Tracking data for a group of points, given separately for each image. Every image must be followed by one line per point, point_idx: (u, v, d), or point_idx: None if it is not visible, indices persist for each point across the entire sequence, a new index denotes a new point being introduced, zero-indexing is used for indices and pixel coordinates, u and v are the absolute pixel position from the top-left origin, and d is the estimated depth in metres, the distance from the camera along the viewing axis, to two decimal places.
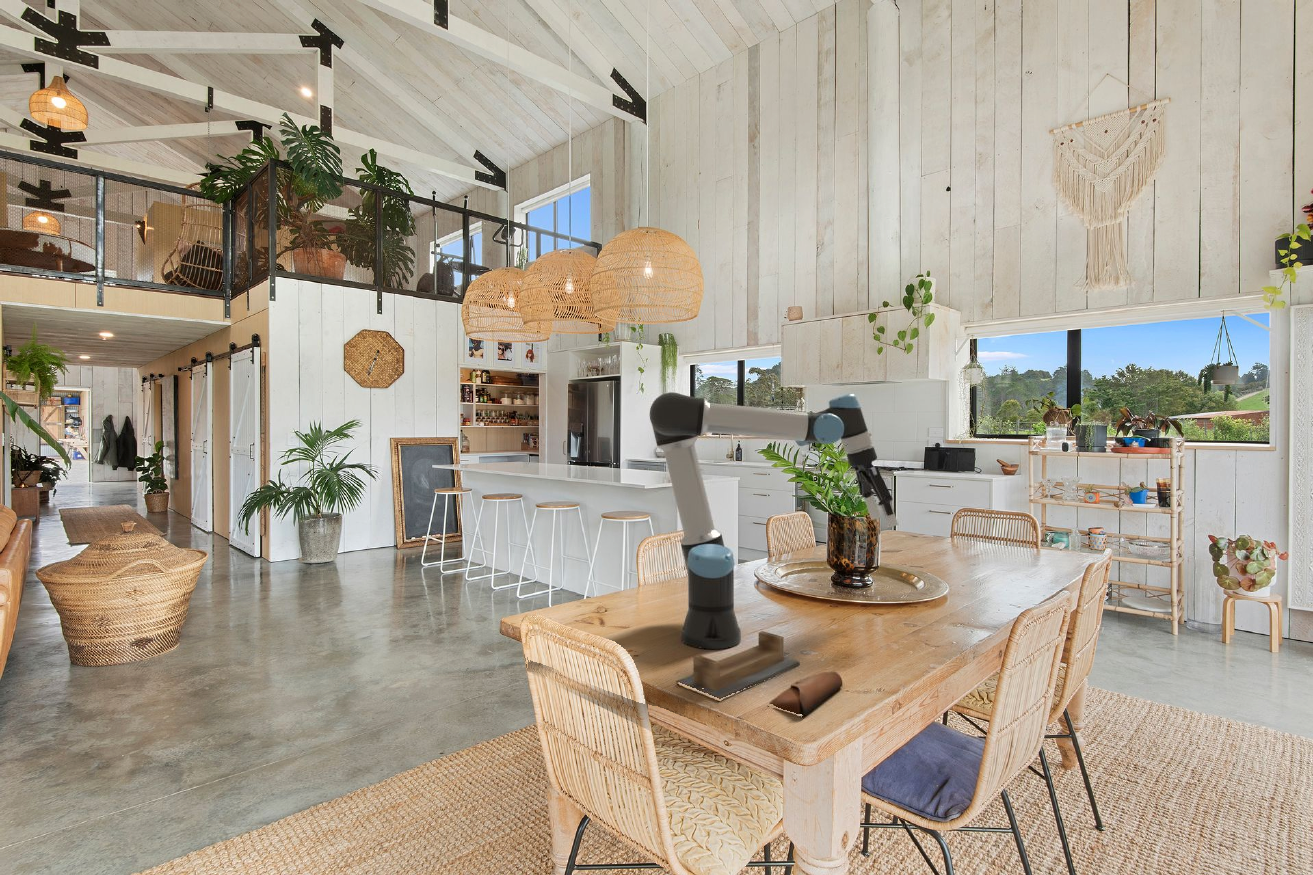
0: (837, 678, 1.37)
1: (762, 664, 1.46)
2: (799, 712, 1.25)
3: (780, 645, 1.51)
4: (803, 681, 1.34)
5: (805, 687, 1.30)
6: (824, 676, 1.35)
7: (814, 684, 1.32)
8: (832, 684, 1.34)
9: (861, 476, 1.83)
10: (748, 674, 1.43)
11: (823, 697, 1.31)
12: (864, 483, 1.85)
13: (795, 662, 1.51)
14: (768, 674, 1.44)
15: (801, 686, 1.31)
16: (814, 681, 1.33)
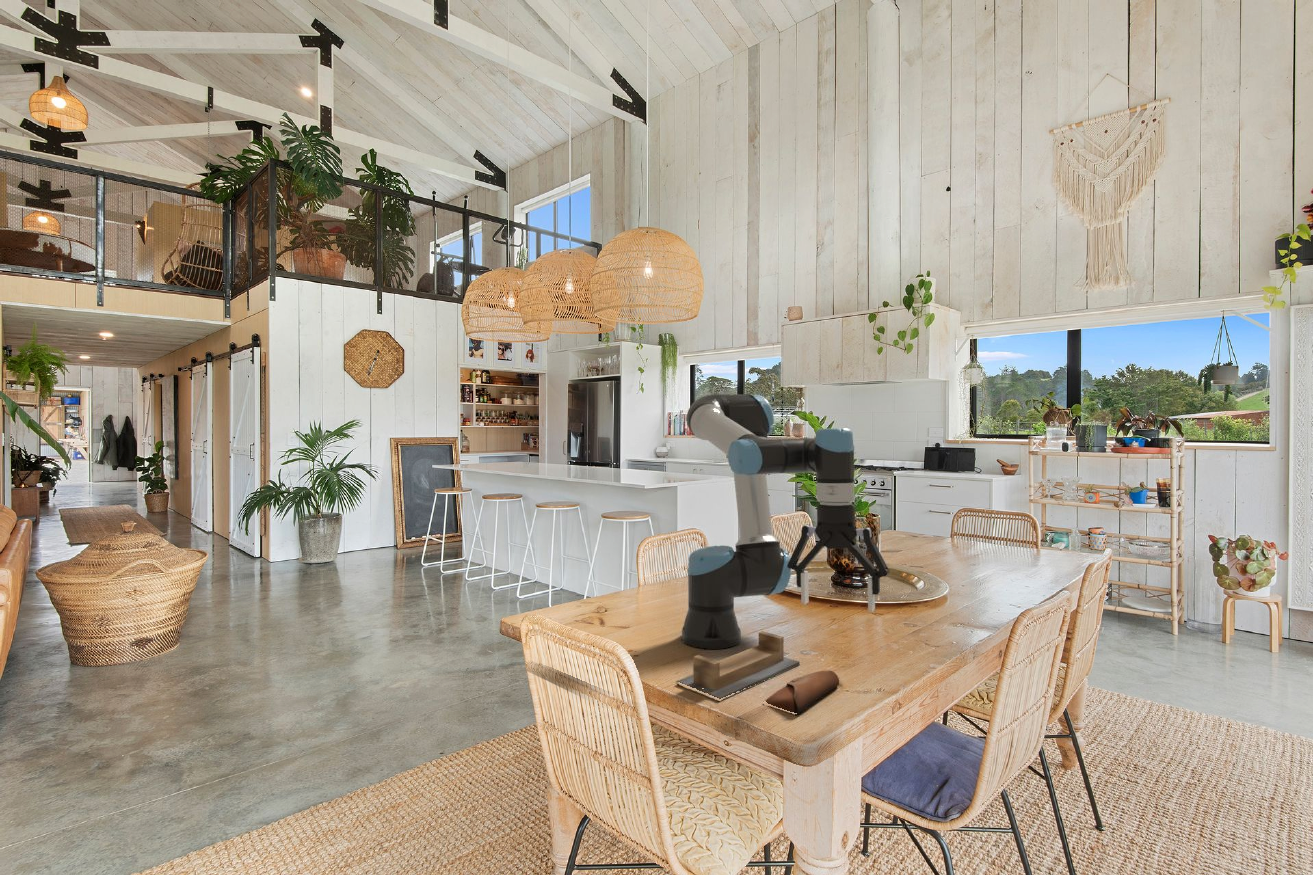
0: (833, 677, 1.37)
1: (762, 664, 1.46)
2: (793, 710, 1.26)
3: (780, 645, 1.51)
4: (799, 679, 1.35)
5: (800, 685, 1.31)
6: (820, 675, 1.36)
7: (810, 682, 1.32)
8: (828, 683, 1.35)
9: None
10: (748, 674, 1.43)
11: (818, 696, 1.31)
12: None
13: (795, 662, 1.51)
14: (768, 674, 1.44)
15: (796, 684, 1.31)
16: (810, 680, 1.33)
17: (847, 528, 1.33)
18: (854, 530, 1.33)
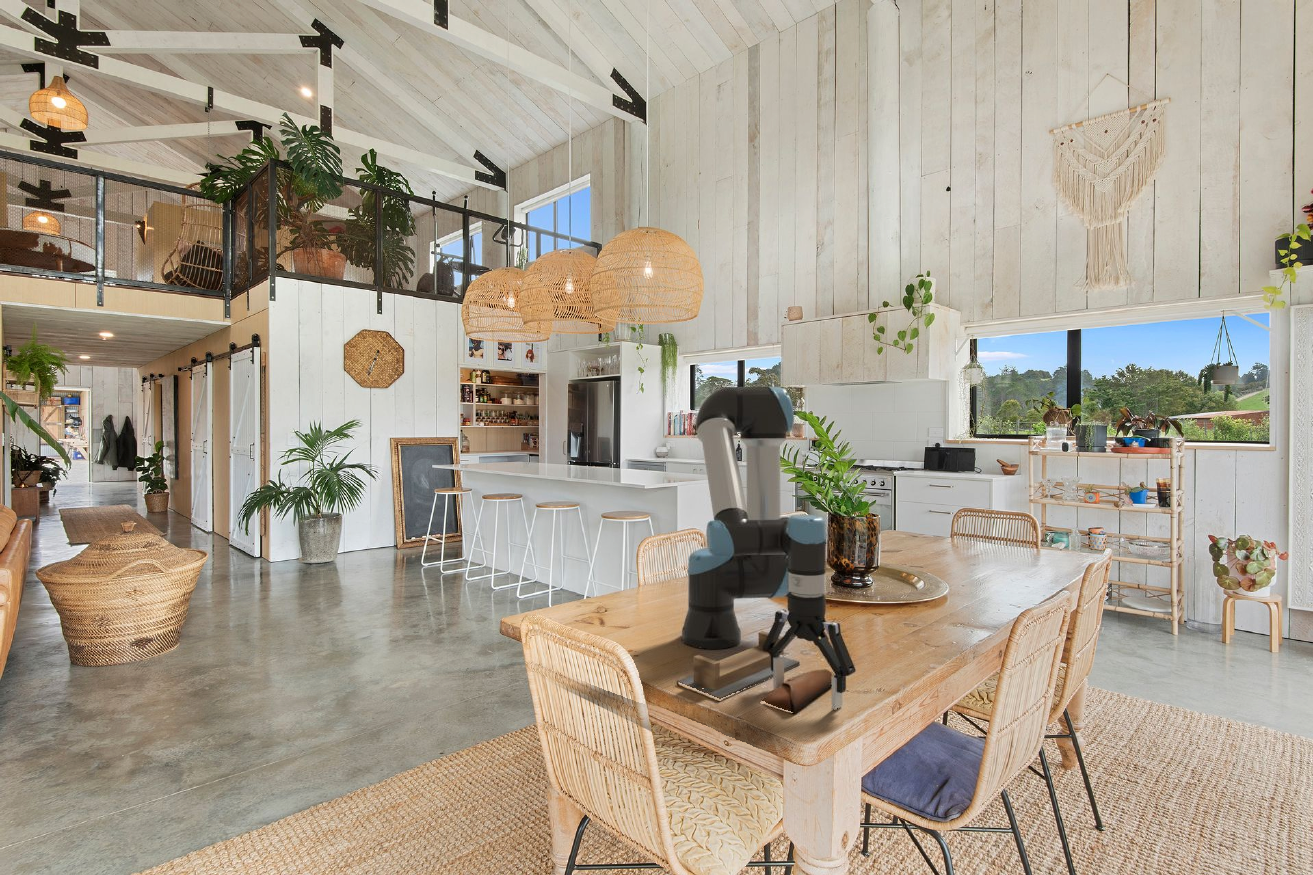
0: (829, 676, 1.38)
1: (762, 664, 1.46)
2: (790, 709, 1.27)
3: None
4: (795, 679, 1.36)
5: (796, 684, 1.32)
6: (816, 674, 1.37)
7: (806, 681, 1.33)
8: (823, 682, 1.35)
9: None
10: (748, 674, 1.43)
11: (814, 694, 1.32)
12: None
13: (795, 662, 1.51)
14: (768, 674, 1.44)
15: (792, 683, 1.32)
16: (806, 679, 1.34)
17: (814, 621, 1.30)
18: (821, 624, 1.30)
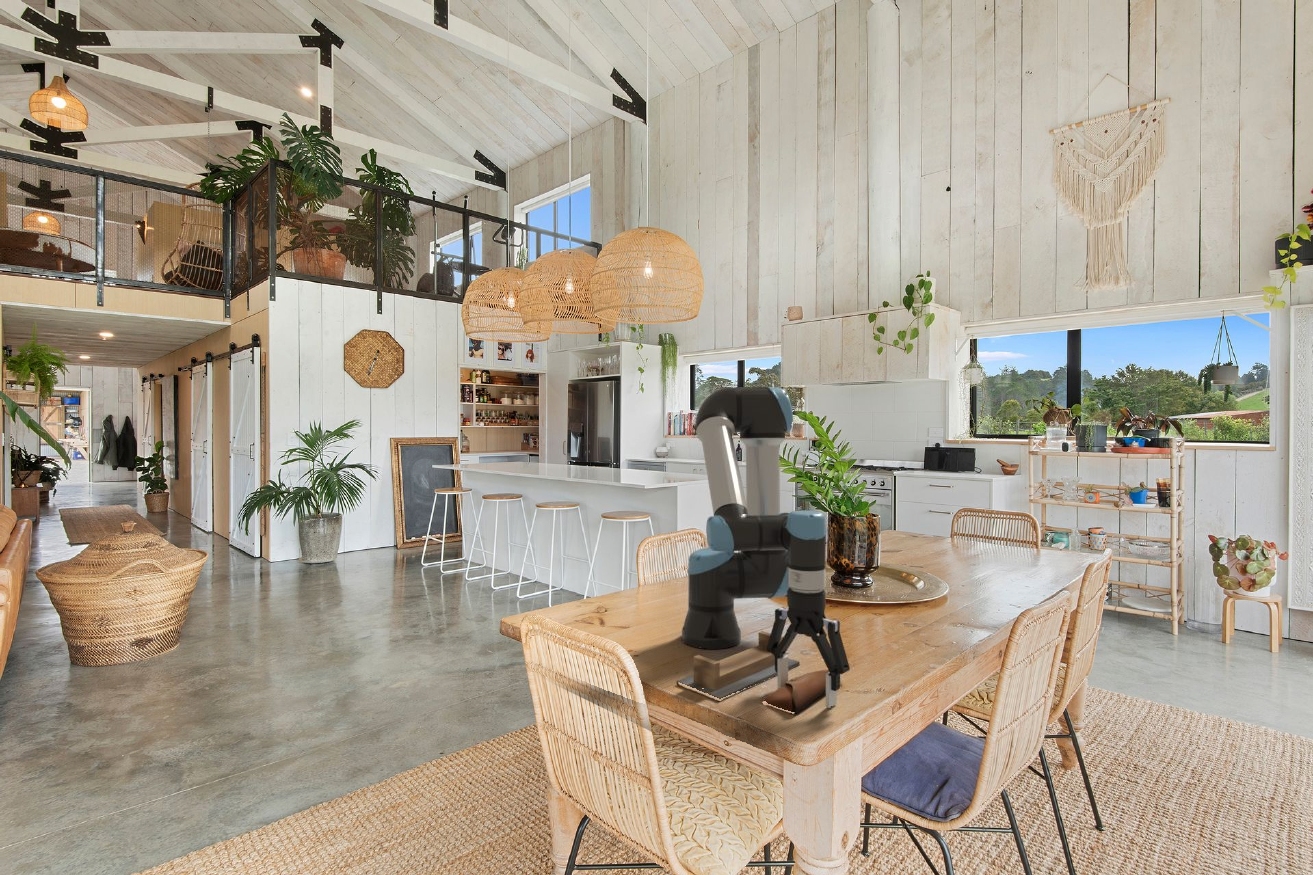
0: None
1: (762, 664, 1.46)
2: (791, 709, 1.26)
3: None
4: (798, 679, 1.35)
5: (799, 684, 1.31)
6: (819, 674, 1.36)
7: (808, 682, 1.32)
8: None
9: None
10: (748, 674, 1.43)
11: (817, 695, 1.31)
12: None
13: (795, 662, 1.51)
14: (768, 674, 1.44)
15: (795, 684, 1.32)
16: (809, 679, 1.34)
17: (815, 616, 1.30)
18: (821, 620, 1.29)
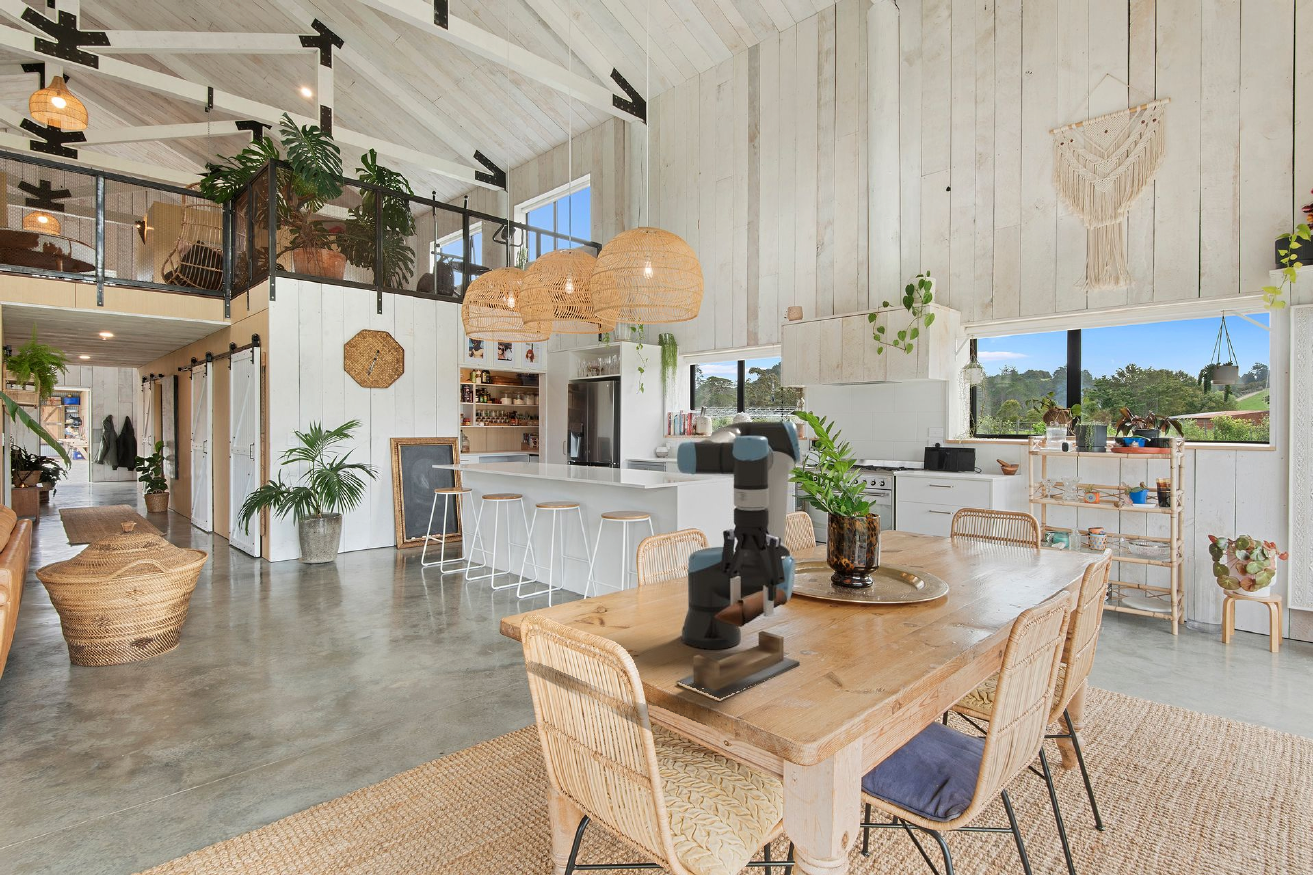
0: (782, 594, 1.48)
1: (762, 664, 1.46)
2: (742, 620, 1.36)
3: (780, 645, 1.51)
4: (749, 596, 1.45)
5: (749, 600, 1.41)
6: None
7: (758, 598, 1.42)
8: None
9: None
10: (748, 674, 1.43)
11: None
12: None
13: (795, 662, 1.51)
14: (768, 674, 1.44)
15: (746, 599, 1.41)
16: (759, 596, 1.43)
17: (759, 531, 1.40)
18: (764, 535, 1.40)
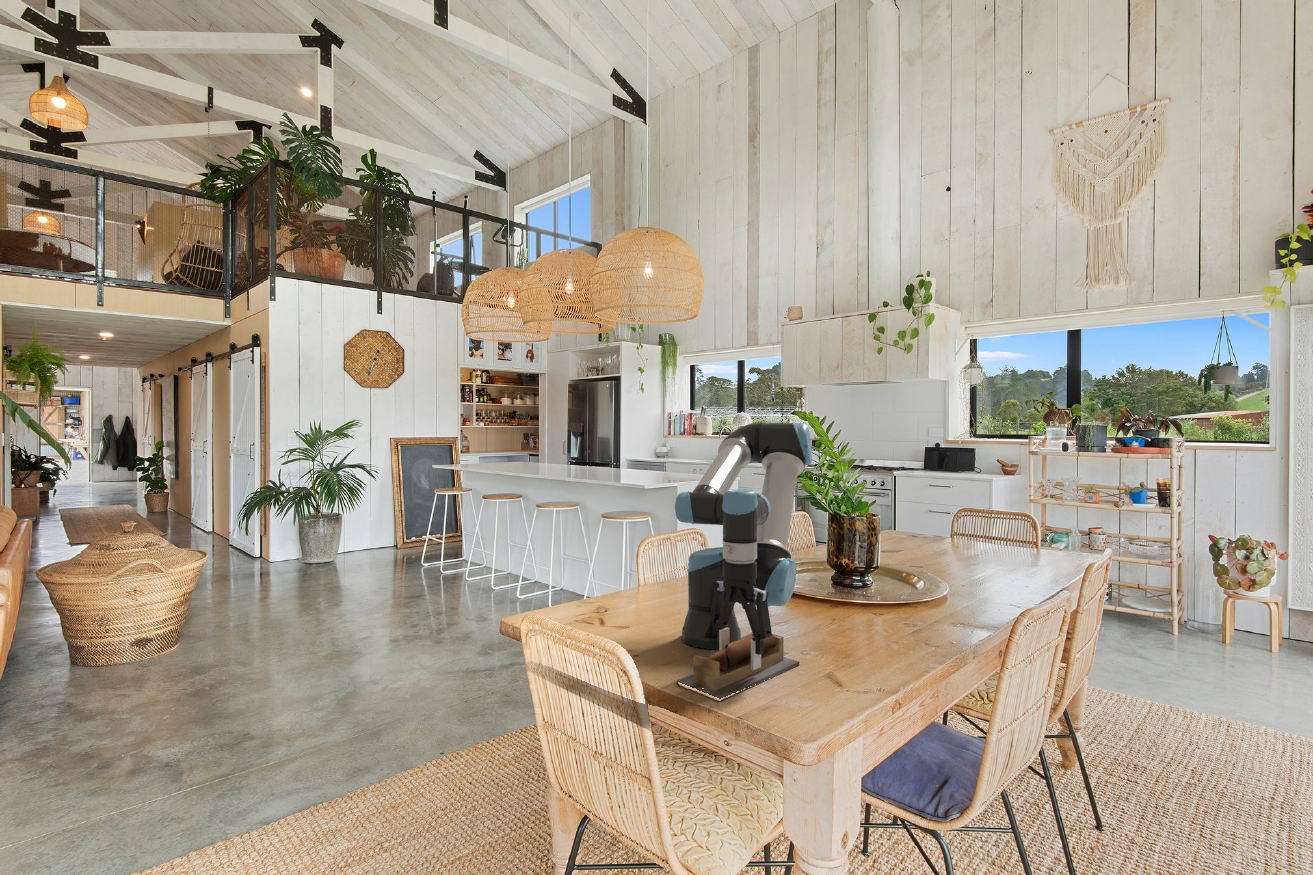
0: (770, 636, 1.49)
1: (762, 664, 1.46)
2: (727, 663, 1.37)
3: (780, 645, 1.51)
4: None
5: (735, 643, 1.43)
6: None
7: (744, 640, 1.44)
8: None
9: None
10: (748, 674, 1.43)
11: None
12: None
13: (795, 662, 1.51)
14: (768, 674, 1.44)
15: (731, 643, 1.43)
16: (745, 639, 1.45)
17: (746, 585, 1.42)
18: (751, 589, 1.42)
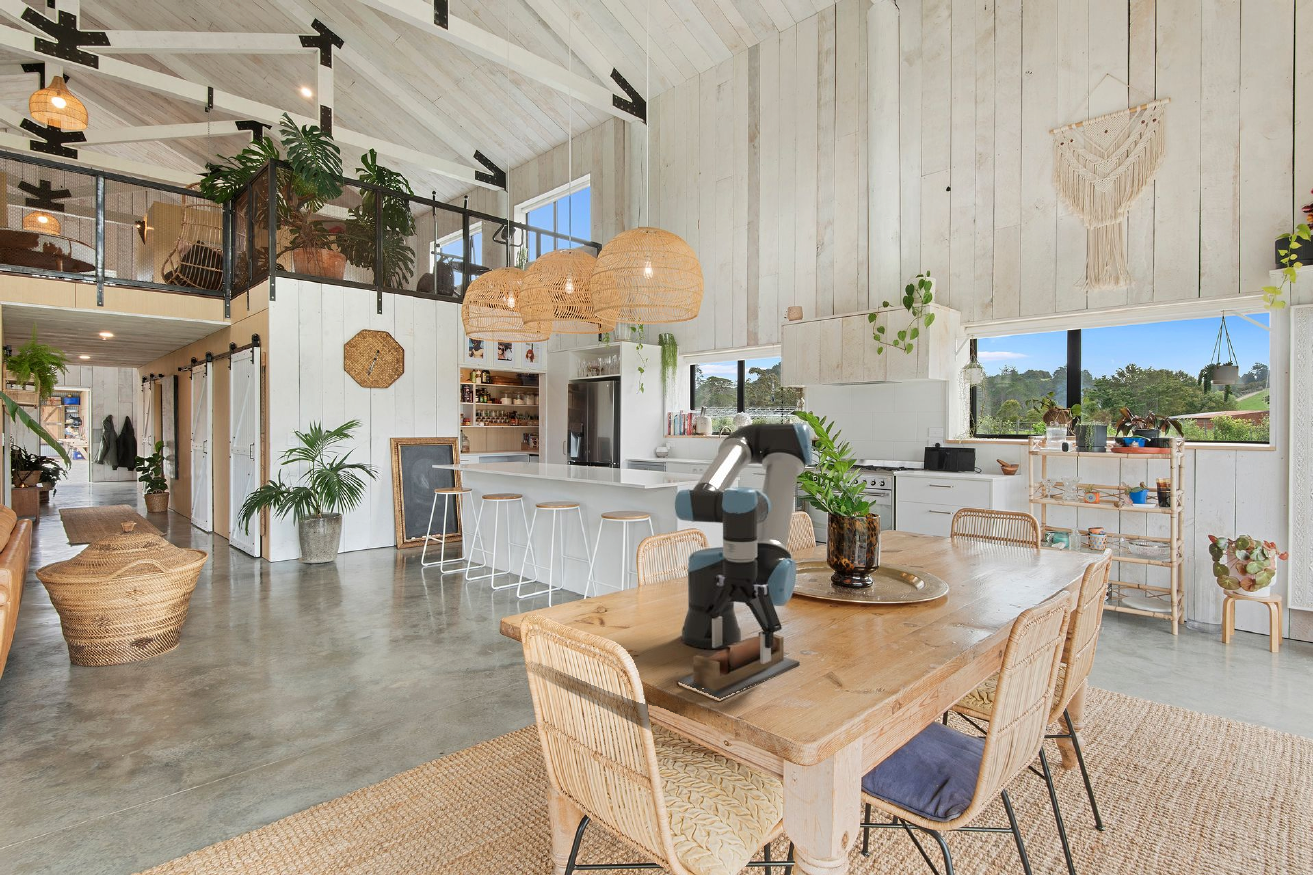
0: None
1: (762, 664, 1.46)
2: (727, 668, 1.37)
3: (780, 645, 1.51)
4: (738, 643, 1.46)
5: (737, 647, 1.42)
6: (758, 639, 1.47)
7: (746, 645, 1.43)
8: None
9: None
10: (748, 674, 1.43)
11: (754, 657, 1.42)
12: None
13: (795, 662, 1.51)
14: (768, 674, 1.44)
15: (733, 646, 1.43)
16: (747, 643, 1.45)
17: (746, 583, 1.43)
18: (751, 586, 1.42)
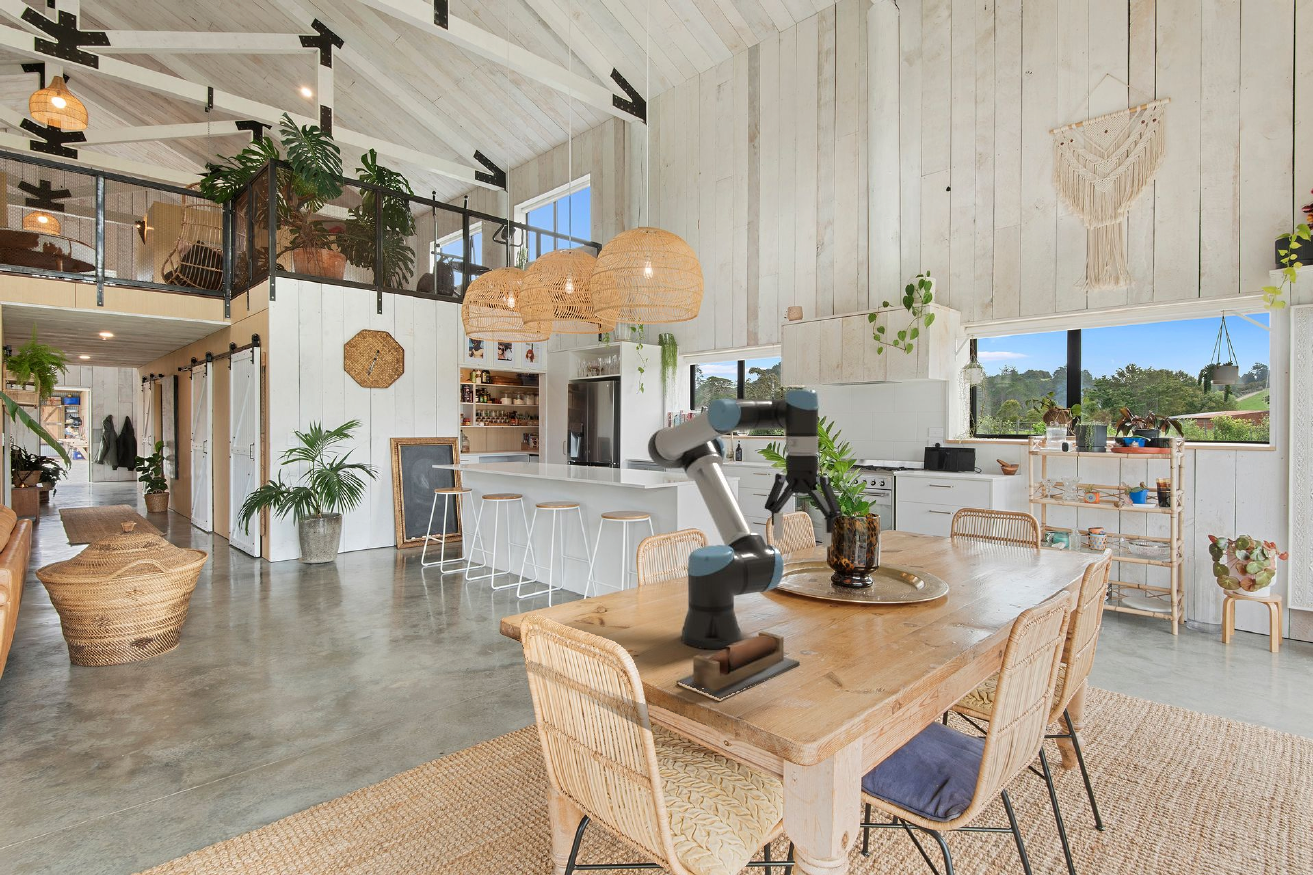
0: (771, 641, 1.48)
1: (762, 664, 1.46)
2: (727, 668, 1.37)
3: (780, 645, 1.51)
4: (738, 643, 1.46)
5: (737, 647, 1.42)
6: (758, 639, 1.47)
7: (746, 645, 1.43)
8: (764, 646, 1.46)
9: None
10: (748, 674, 1.43)
11: (753, 657, 1.42)
12: None
13: (795, 662, 1.51)
14: (768, 674, 1.44)
15: (733, 646, 1.43)
16: (747, 643, 1.45)
17: (808, 475, 1.55)
18: (813, 477, 1.54)
